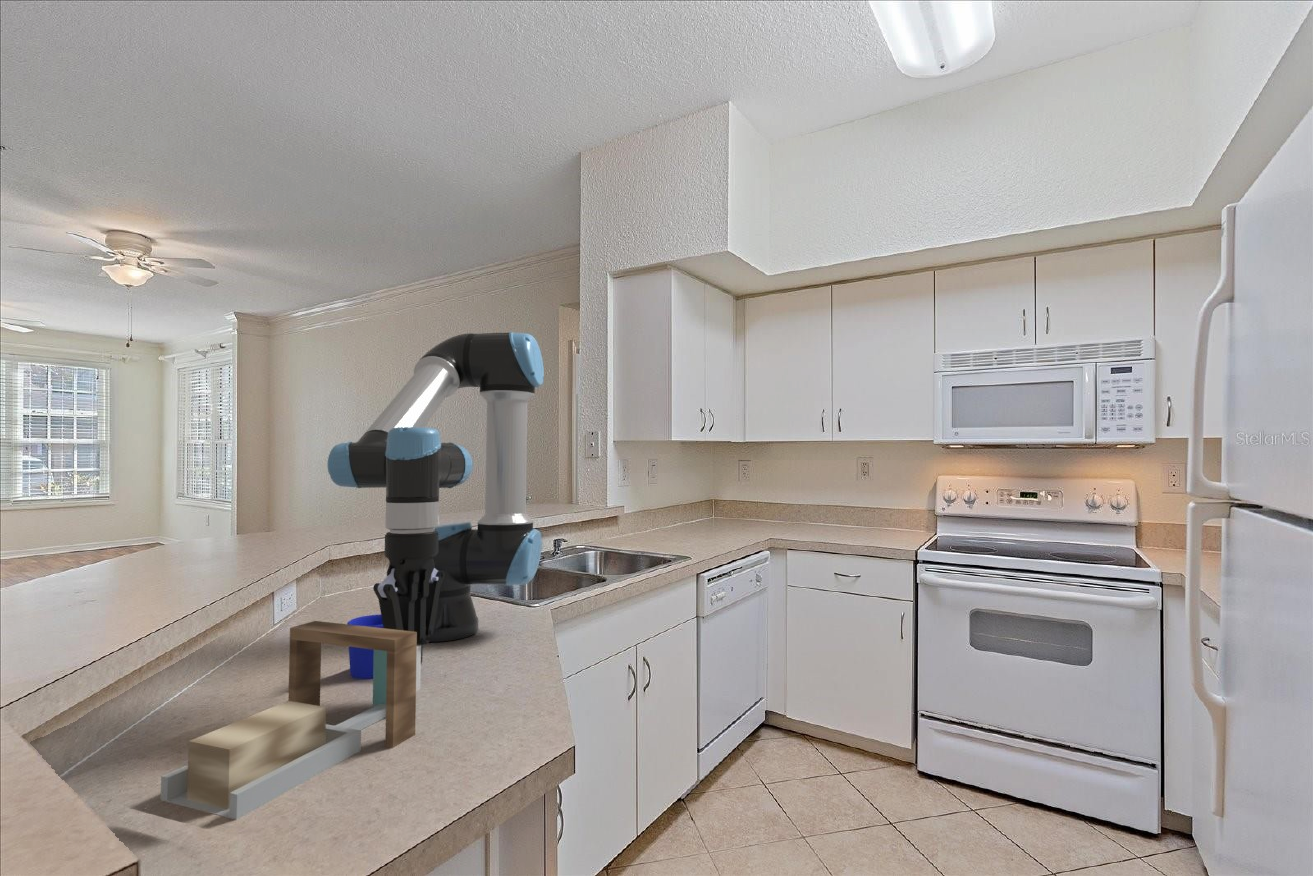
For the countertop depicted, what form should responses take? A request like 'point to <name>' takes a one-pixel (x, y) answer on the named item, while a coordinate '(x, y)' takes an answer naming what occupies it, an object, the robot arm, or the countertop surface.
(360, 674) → the mug
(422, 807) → the countertop surface
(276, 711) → the bar
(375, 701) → the sled
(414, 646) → the tunnel
